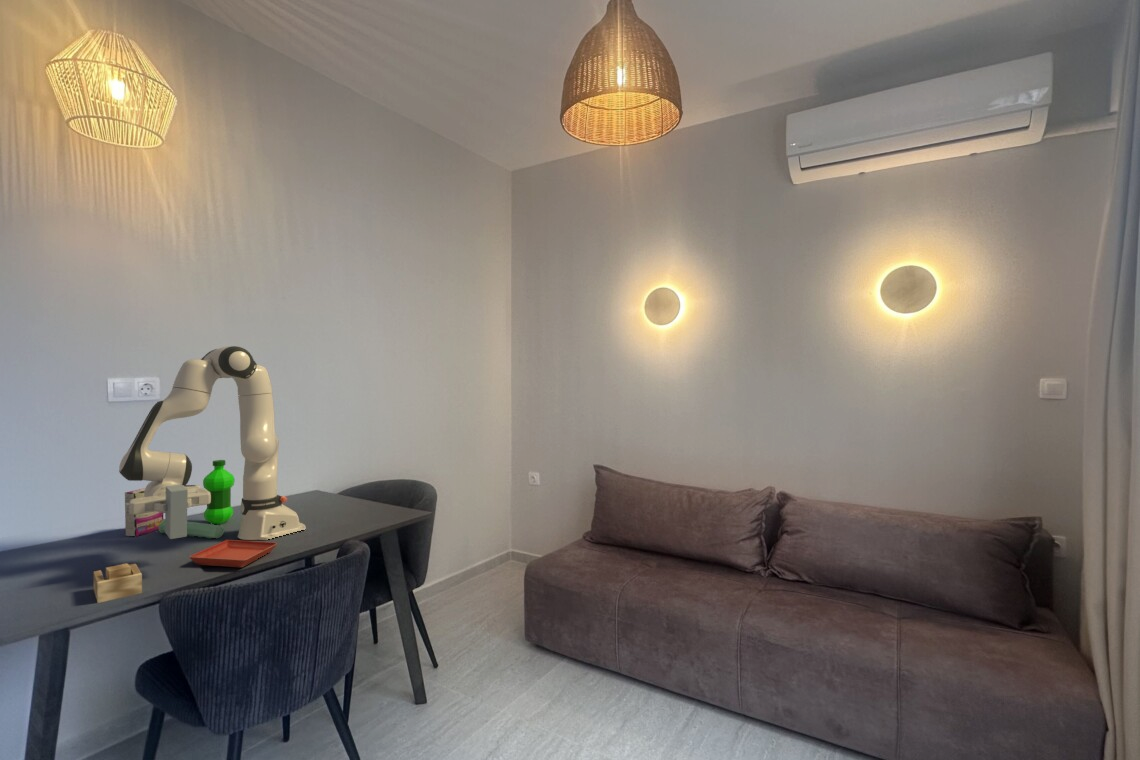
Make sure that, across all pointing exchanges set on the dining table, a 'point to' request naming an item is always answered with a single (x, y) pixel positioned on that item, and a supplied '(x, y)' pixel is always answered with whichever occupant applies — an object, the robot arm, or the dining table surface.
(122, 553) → the dining table surface
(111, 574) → the offcut upper
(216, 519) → the plastic bottle
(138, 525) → the candy bar box
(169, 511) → the grey rectangular block
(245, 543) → the plant saucer
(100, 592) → the rack
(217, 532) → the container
